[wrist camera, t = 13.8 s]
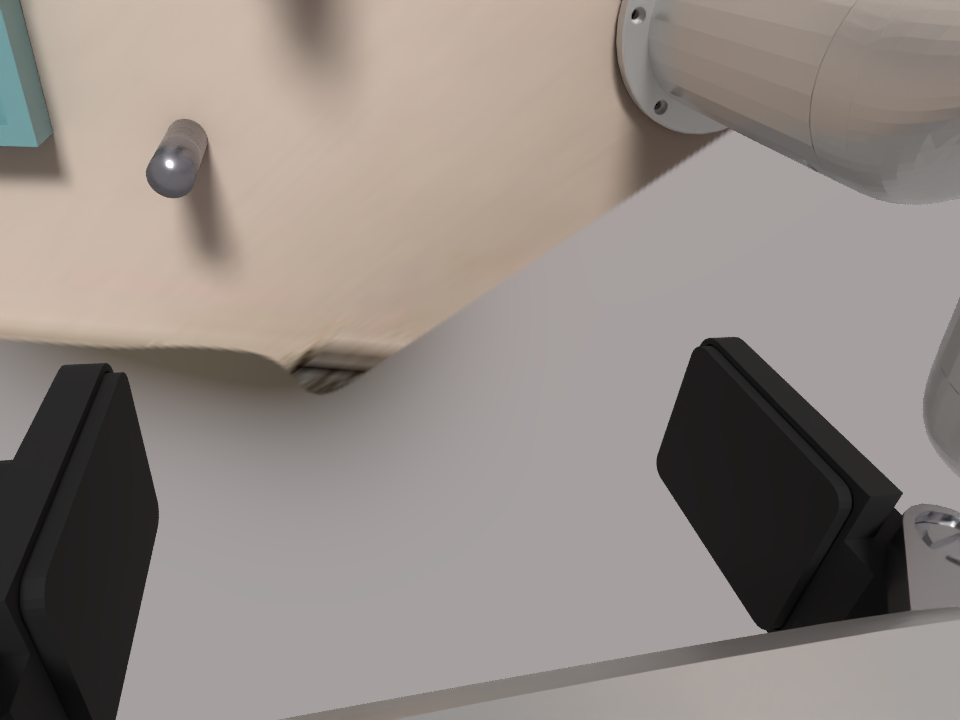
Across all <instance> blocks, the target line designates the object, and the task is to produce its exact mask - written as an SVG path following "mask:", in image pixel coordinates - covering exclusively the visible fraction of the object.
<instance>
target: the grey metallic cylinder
mask: <svg viewBox="0 0 960 720" xmlns="http://www.w3.org/2000/svg"><path fill="white" fill-rule="evenodd" d="M207 144H208V138H207V135H206V132H205V131H204V129H203V128H202V127H201V126H200V125H199V124H198V123H196V122H194V121H192V120H188V119H181V120H177V121H175V122H174V123H173V124H172V125H171V126H170V127H169V129H168V131H167V133H166V135H165V136H164V138H163V140H162V142H161V143H160V145H159V147H158V149H157V150H156V152H155V154H154V156H153V158H152V159H151V161H150V163H149V165H148V167H147V170H146V177H147V181H148V183H149V185H150V186H151V187H152V189H153V190H154V191H156V192H157V193H158V194H160V195H162V196H164V197H168V198H179V197H182V196H184V195H186V194H187V193H188V192H189V191H190V190H191V188H192V186H193V183H194V180H195V178H196V175H197V172H198V169H199V167H200V164H201V161H202V158H203V155H204V153H205V150H206V147H207Z"/></svg>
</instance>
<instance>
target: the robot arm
mask: <svg viewBox="0 0 960 720" xmlns="http://www.w3.org/2000/svg"><path fill="white" fill-rule="evenodd" d="M634 9H635V11H636V14H635V16H634V17H633V18H632V19H631V15H632V12H633V10H634ZM616 45H617V56H618V65H619V68H620V72H621V75H622V79H623V83H624V85H625V87H626V89H627V91H628V93H629V94H630V96H631V98H632V100H633V101H634V102H635V104H636V105H637V106H638V107H639V108H640V110H641V111H642V112H643V113H644V114H646V115H647V116H648V117H650V118H651V119H652V120H654V121H655V122H656V123H658V124H660V125H662V126H664V127H666V128H668V129H670V130H673V131H677V132H680V133H684V134H700V135H702V134H708V133H714V132H719V131H722V130H725V129H728V128H730V129H732V130H734V131H736V132H738V133H740V134H742V135H744V136H747V137H748V138H750V139H752V140H754V141H757V142H758V143H760V144H762V145H764V146H767V147H768V148H770V149H772V150H775V151H776V152H778V153H780V154H782V155H784V156H787V157H788V158H791V159H793V160H794V161H797V162H799V163H800V164H803V165H804V166H806V167H808V168H811V169H812V170H814V171H816V172H819V173H821V174H823V175H825V176H827V177H829V178H831V179H833V180H835V181H837V182H839V183H841V184H843V185H845V186H847V187H849V188H851V189H853V190H855V191H857V192H859V193H862V194H864V195H867V196H869V197H872V198H875V199H877V200H881V201H886V202H890V203H896V204H914V205H921V204H932V203H939V202H944V201H949V200H955V199H959V198H960V0H622V4H621V8H620V12H619V16H618V25H617V38H616ZM657 102H658V104H657V106H656V107H655V105H656V103H657ZM654 107H655V108H654ZM923 418H924V423H925V428H926V432H927V435H928V437H929V440H930V442H931V443H932V445H933V447H934V449H935V451H936V452H937V454H938V455H939V457H940V458H941V459H942V460H943V461H944V462H945V464H946V465H947V466H948V467H949V468H950V469H951V470H952V471H953V472H954V473H955V474H956V475H957V476H959V477H960V298H959V301H958V303H957V306H956V308H955V310H954V313H953V315H952V318H951V320H950V322H949V325H948V327H947V330H946V332H945V335H944V337H943V339H942V341H941V344H940V346H939V350H938V352H937V355H936V357H935V360H934V362H933V365H932V368H931V371H930V374H929V377H928V380H927V383H926V388H925V393H924V398H923ZM657 470H658V473H659V475H660V477H661V479H662V480H663V482H664V484H665V485H666V486H667V488H668V490H669V491H670V493H671V494H672V496H673V497H674V499H675V501H676V502H677V504H678V505H679V507H680V508H681V510H682V511H683V513H684V514H685V516H686V517H687V519H688V520H689V522H690V524H691V525H692V527H693V528H694V530H695V531H696V533H697V534H698V536H699V538H700V539H701V541H702V542H703V544H704V545H705V547H706V548H707V549H708V551H709V553H710V554H711V556H712V558H713V559H714V561H715V562H716V564H717V565H718V567H719V568H720V570H721V571H722V573H723V574H724V576H725V578H726V579H727V580H728V582H729V583H730V585H731V587H732V588H733V590H734V591H735V593H736V595H737V596H738V598H739V599H740V600H741V602H742V604H743V605H744V607H745V608H746V610H747V611H748V613H749V614H750V616H751V618H752V619H753V620H754V622H755V623H756V624H757V626H759V627H760V628H761V629H764V630H766V631H767V632H768V633H766V634H759V635H754V636H748V637H742V638H736V639H731V640H724V641H718V642H712V643H707V644H700V645H695V646H689V647H683V648H677V649H672V650H666V651H660V652H654V653H648V654H643V655H637V656H632V657H625V658H620V659H614V660H608V661H603V662H597V663H591V664H585V665H580V666H574V667H568V668H563V669H557V670H551V671H546V672H540V673H535V674H529V675H523V676H518V677H512V678H506V679H500V680H495V681H489V682H484V683H479V684H472V685H467V686H461V687H456V688H450V689H445V690H439V691H434V692H428V693H423V694H417V695H412V696H406V697H401V698H395V699H390V700H384V701H378V702H373V703H367V704H362V705H356V706H351V707H345V708H340V709H334V710H329V711H323V712H318V713H312V714H307V715H302V716H296V717H291V718H286V719H281V720H960V513H959V512H957V511H955V510H952V509H949V508H946V507H942V506H938V505H932V504H931V505H930V504H919V505H914V506H911V507H910V508H908V509H907V510H906V511H905V512H904V514H903V515H901V514H900V513H899V512H898V511H897V510H896V509H895V508H894V506H895V505H896V503H897V502H898V500H899V499H900V497H901V495H902V494H903V493H902V492H901V491H900V490H899V489H898V488H897V487H896V486H895V485H894V484H893V483H892V482H891V481H890V480H889V479H888V478H886V477H885V475H884V474H882V473H881V472H880V471H879V470H878V469H877V468H876V467H875V466H874V465H873V464H872V463H871V462H870V461H869V460H868V459H867V458H866V457H865V456H864V455H862V454H861V453H860V452H859V451H858V450H857V449H856V448H855V447H854V446H853V445H852V444H851V443H850V442H849V441H848V440H847V439H846V438H845V437H844V436H843V435H842V434H841V433H839V432H838V431H837V430H836V429H835V428H834V427H833V426H832V425H831V424H830V423H829V422H828V421H827V420H826V419H825V418H824V417H823V416H822V415H821V414H820V413H819V412H818V411H816V410H815V409H814V408H813V407H812V406H811V405H810V404H809V403H808V402H807V401H806V400H805V399H804V398H803V397H802V396H801V395H800V394H799V393H797V391H795V390H794V389H793V388H792V387H791V386H790V385H789V384H788V383H787V382H786V381H785V380H784V379H783V378H782V377H781V376H780V375H779V374H778V373H776V371H775V370H773V369H772V368H771V367H770V366H769V365H768V364H767V363H766V362H765V361H764V360H763V359H762V358H761V357H760V356H759V355H758V354H757V353H756V352H755V351H754V350H752V349H751V348H750V347H749V346H748V345H747V344H746V343H745V342H744V341H743V340H742V339H740V338H737V337H726V338H708V339H705V340H704V341H703V342H702V344H701V345H700V346H699V347H697V348H695V349H694V350H693V353H692V355H691V358H690V361H689V364H688V367H687V370H686V372H685V375H684V378H683V381H682V384H681V387H680V390H679V393H678V396H677V399H676V402H675V405H674V408H673V411H672V414H671V417H670V420H669V423H668V426H667V429H666V432H665V435H664V438H663V441H662V444H661V447H660V450H659V453H658V456H657ZM158 520H159V509H158V501H157V497H156V493H155V489H154V485H153V481H152V476H151V472H150V468H149V464H148V460H147V456H146V451H145V447H144V443H143V439H142V435H141V431H140V426H139V422H138V418H137V414H136V410H135V406H134V401H133V397H132V393H131V389H130V385H129V381H128V378H127V376H126V374H125V373H124V372H121V373H113V370H112V368H111V366H110V365H109V364H107V363H99V364H74V365H63V366H61V368H60V369H59V371H58V373H57V375H56V377H55V378H54V381H53V382H52V384H51V387H50V388H49V390H48V392H47V394H46V396H45V398H44V400H43V402H42V404H41V406H40V408H39V410H38V412H37V414H36V416H35V418H34V420H33V422H32V424H31V426H30V428H29V430H28V432H27V434H26V435H25V437H24V439H23V441H22V443H21V445H20V447H19V449H18V451H17V453H16V455H15V457H14V459H13V460H5V461H0V720H116V715H117V711H118V706H119V702H120V697H121V692H122V688H123V683H124V679H125V674H126V670H127V665H128V660H129V655H130V651H131V647H132V642H133V637H134V633H135V629H136V624H137V619H138V615H139V610H140V606H141V601H142V597H143V592H144V587H145V583H146V578H147V574H148V569H149V564H150V560H151V555H152V550H153V546H154V542H155V537H156V533H157V528H158Z"/></svg>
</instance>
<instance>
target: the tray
mask: <svg viewBox="0 0 960 720" xmlns="http://www.w3.org/2000/svg"><path fill="white" fill-rule="evenodd" d="M52 134H53V131H52V127H51V123H50V119H49V115H48V111H47V107H46V103H45V99H44V96H43V92H42V88H41V84H40V80H39V76H38V72H37V68H36V64H35V60H34V56H33V52H32V48H31V44H30V40H29V36H28V33H27V29H26V25H25V21H24V17H23V13H22V9H21V5H20V1H19V0H0V146H19V147H39V146H40V145H41V144H42V143H43V142H44V141H45V140H46V139H47V138H48V137H49V136H50V135H52Z"/></svg>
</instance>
